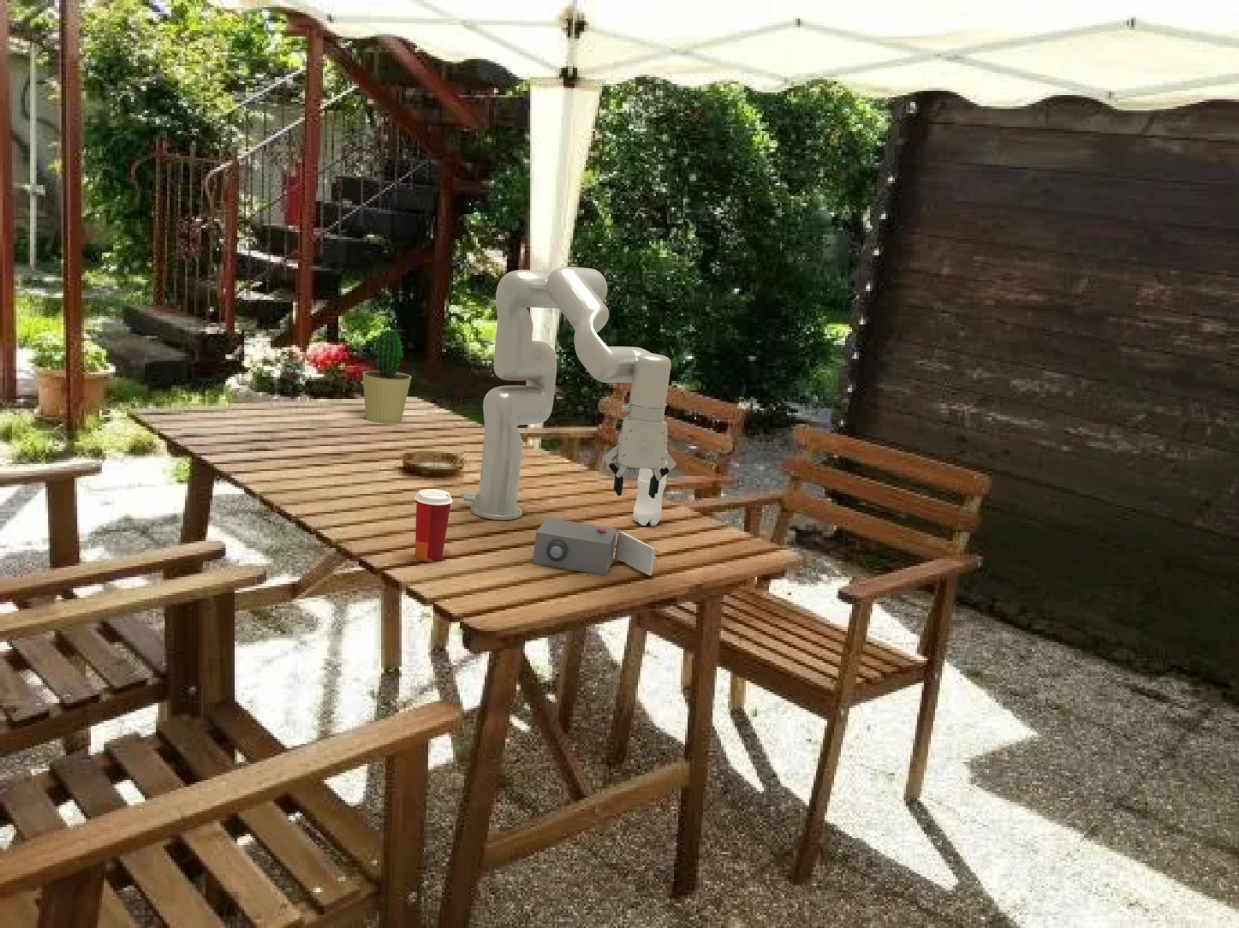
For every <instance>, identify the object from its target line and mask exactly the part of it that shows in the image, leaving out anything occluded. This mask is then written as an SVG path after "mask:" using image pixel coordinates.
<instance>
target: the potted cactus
mask: <svg viewBox="0 0 1239 928" xmlns="http://www.w3.org/2000/svg"><path fill="white" fill-rule="evenodd" d="M397 330H398V329H397ZM397 330H394V329H387V328H386V329H384V330H383V331H382V332H381V331H380V334H377V335H378V337H377V336H376V337H375V339H376V341H375V343H373V346H375V347H374V348H373V350H372V351H373V353H374V355H373V356H374V357H375V358H376V362H377V368H378V369H377V370H374V369H373V370H365V371H363V372H362V382H363V394H364V395H363V396H364V409H365V410H364V411H365V419H366V420H368V421H370V422H374V423H379V424H398V423H401V422H402V419H403V416H404V415H403V414H404V411H405V406H406V402H407V398H408V393H409V390H410V386H411V385H410V384H411V380H412V378H413V377H412V376H411V375H409V374H407V373H402V372H400V371H399V372H398V370H401V369H399V366H401V362H402V361H401V359H402V358H403V357H404V350H403V349H402V348H404V347H405V345H403V346H402V344H403V343H402V341H401V340H402V339H400V338H402V337H403V335H402V336H401V333H398V331H397ZM403 359H404V358H403Z"/></svg>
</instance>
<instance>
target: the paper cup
mask: <svg viewBox="0 0 1239 928" xmlns="http://www.w3.org/2000/svg"><path fill="white" fill-rule="evenodd" d="M414 500H415V501H416V507H415V545H414V549H415V551H414V553H415V554H414V557H415V558H416V559H417V560H419V561H421V562H427V563H430V562H431V563H433V562H440V561H441V560H442V558H443V555H444V549H445V542H446V537H447V530H448V523H449V519H450V511H451V504H452V503H453V499H452V495H451V493H450V492H448V491H445V490H442V489H434V488H430V489H429V488H426V489H421V490H418V492H417V493H416V494H415V496H414Z"/></svg>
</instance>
